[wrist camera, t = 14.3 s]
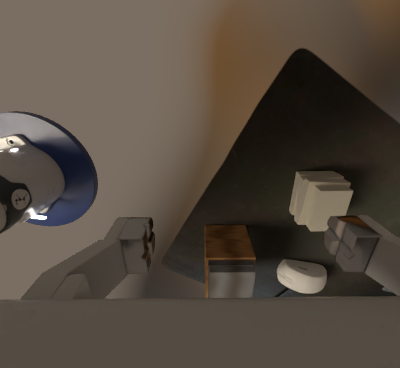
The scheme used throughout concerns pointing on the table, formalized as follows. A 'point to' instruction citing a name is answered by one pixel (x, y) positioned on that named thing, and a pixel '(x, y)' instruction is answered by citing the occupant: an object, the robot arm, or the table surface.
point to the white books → (310, 190)
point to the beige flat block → (327, 205)
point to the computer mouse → (302, 276)
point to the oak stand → (228, 262)
